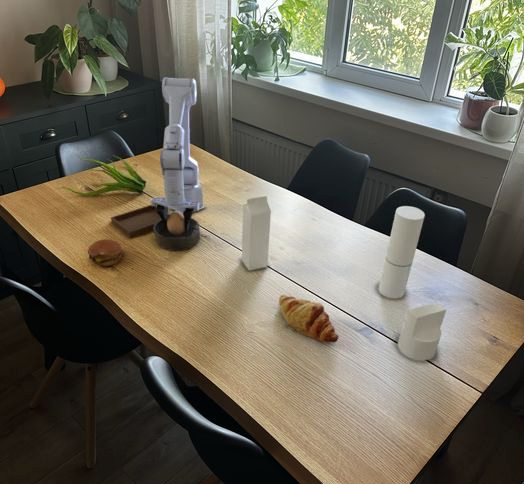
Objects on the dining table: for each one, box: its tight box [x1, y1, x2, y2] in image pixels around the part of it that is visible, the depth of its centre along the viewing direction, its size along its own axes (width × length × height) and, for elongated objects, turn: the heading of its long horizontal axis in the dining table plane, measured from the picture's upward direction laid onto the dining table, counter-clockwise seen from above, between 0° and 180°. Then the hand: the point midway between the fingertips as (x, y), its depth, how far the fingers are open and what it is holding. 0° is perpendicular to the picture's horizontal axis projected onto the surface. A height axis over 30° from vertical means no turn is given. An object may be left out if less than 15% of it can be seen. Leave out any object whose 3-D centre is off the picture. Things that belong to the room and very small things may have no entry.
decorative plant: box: [53, 155, 147, 196], centre depth 177 cm, size 18×30×15 cm, turn 70°
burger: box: [87, 238, 124, 267], centre depth 146 cm, size 10×9×5 cm
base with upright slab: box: [397, 301, 447, 362], centre depth 119 cm, size 9×9×12 cm
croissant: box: [278, 294, 339, 343], centre depth 126 cm, size 21×10×8 cm, turn 39°
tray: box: [110, 204, 170, 239], centre depth 165 cm, size 16×12×2 cm
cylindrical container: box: [378, 205, 426, 299], centre depth 133 cm, size 7×7×25 cm
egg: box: [167, 210, 185, 235], centre depth 155 cm, size 6×6×8 cm
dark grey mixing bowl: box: [152, 217, 201, 251], centre depth 157 cm, size 14×14×4 cm
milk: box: [241, 195, 272, 271], centre depth 142 cm, size 6×6×22 cm
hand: (176, 227), depth 156 cm, fingers closed on egg, 6 cm apart
